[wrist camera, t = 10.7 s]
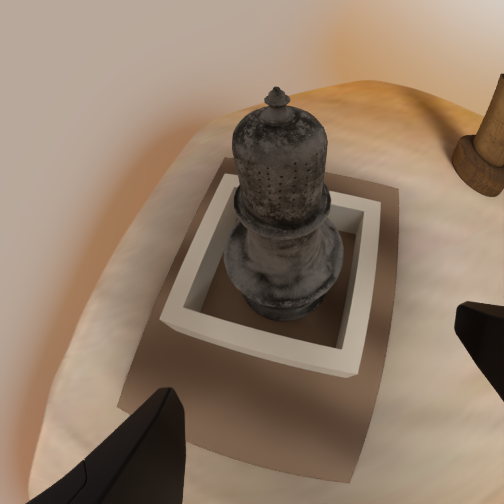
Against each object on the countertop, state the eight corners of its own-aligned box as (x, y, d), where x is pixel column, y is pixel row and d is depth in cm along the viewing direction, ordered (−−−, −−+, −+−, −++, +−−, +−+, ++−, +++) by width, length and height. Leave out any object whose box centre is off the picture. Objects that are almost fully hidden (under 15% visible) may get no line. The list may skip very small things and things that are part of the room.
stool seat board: (345, 477, 12) (360, 496, 8) (126, 407, 15) (93, 405, 12) (394, 198, 20) (407, 165, 17) (227, 167, 24) (219, 134, 20)
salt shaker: (333, 328, 15) (420, 171, 5) (228, 322, 16) (129, 168, 5) (332, 237, 18) (364, 55, 7) (241, 234, 19) (195, 57, 8)
